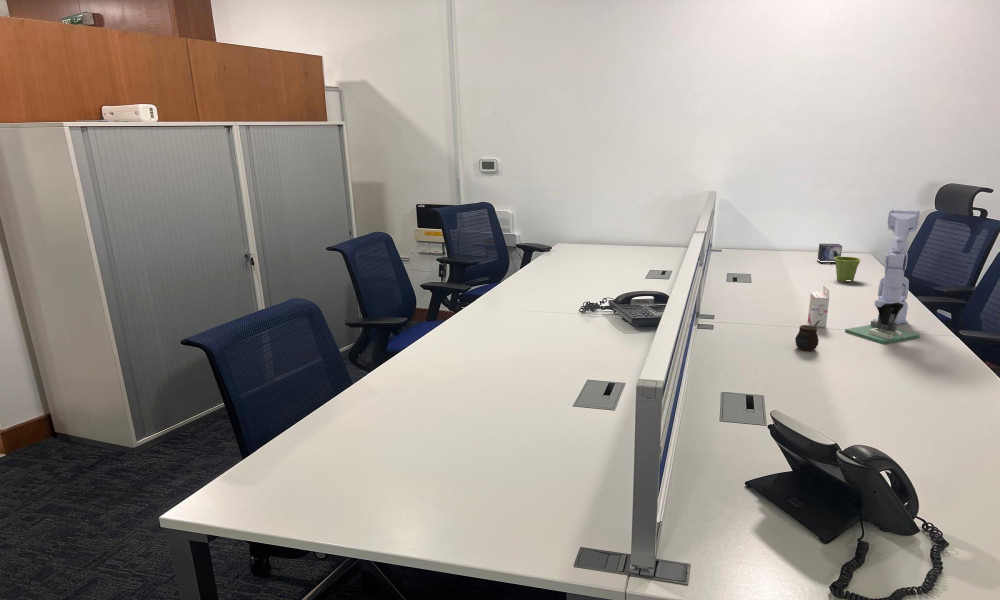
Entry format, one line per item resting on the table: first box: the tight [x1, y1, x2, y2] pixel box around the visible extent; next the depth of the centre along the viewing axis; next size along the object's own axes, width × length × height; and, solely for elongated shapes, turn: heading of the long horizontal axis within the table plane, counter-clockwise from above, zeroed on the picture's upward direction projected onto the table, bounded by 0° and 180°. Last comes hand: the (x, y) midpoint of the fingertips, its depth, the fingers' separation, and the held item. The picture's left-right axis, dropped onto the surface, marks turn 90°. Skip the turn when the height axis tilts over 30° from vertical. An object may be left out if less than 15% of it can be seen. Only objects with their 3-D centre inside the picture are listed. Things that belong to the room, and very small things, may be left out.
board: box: [844, 319, 920, 345], centre depth 237 cm, size 18×16×3 cm
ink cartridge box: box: [807, 285, 830, 328], centre depth 250 cm, size 9×5×15 cm, turn 168°
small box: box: [816, 243, 843, 264], centre depth 360 cm, size 11×6×10 cm, turn 80°
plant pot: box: [834, 256, 862, 283], centre depth 318 cm, size 12×12×11 cm
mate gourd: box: [794, 321, 819, 352], centre depth 222 cm, size 7×8×10 cm
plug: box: [877, 313, 898, 332], centre depth 232 cm, size 3×6×6 cm, turn 27°
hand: (887, 323), depth 232 cm, fingers closed on plug, 3 cm apart
